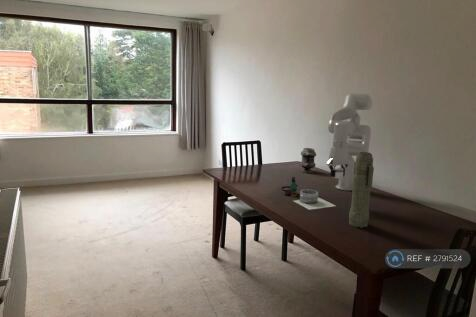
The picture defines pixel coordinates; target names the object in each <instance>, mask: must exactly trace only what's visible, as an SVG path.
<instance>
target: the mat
mask: <svg viewBox="0 0 476 317" xmlns="http://www.w3.org/2000/svg"><path fill="white" fill-rule="evenodd" d="M293 203H296V204H297V205H300V206H301V207H304V208H306V209H307V210H308V211H309V210H317V209H324V208H331V207H332V208H333V207H336V205H335V204H333V203H331V202H329V201H327V200H325V199H323V198H320V197H318V202H317V203H316V204H305V203H302V202H300V199H296V200H293Z"/></svg>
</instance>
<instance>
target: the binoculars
mask: <svg viewBox="0 0 476 317" xmlns="http://www.w3.org/2000/svg"><path fill="white" fill-rule="evenodd" d="M298 186H299V184H297V180H296V177H295V176H292V177H291V183H290V186H287V185H285V186H282V187H280V188H281V191H282V192H284V196H292V197H297V194H298V193H297V187H298Z"/></svg>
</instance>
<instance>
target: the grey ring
mask: <svg viewBox="0 0 476 317" xmlns="http://www.w3.org/2000/svg"><path fill="white" fill-rule="evenodd" d="M318 198H319V191H318V190H315V189H308V188H307V189H301V190H299V200H300V202H302V203H305V204H316V203H317V202H318Z"/></svg>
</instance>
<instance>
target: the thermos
mask: <svg viewBox="0 0 476 317" xmlns="http://www.w3.org/2000/svg"><path fill="white" fill-rule="evenodd" d="M373 157H374V156H373V154H372V153H371V152H369V151H368V152H360V153H358V155H357V156H355V163H354V174H353V180H352V194H351V205H350V209H349V212H348V214H349V215H348V218H349V219H348V225H349V226H351V225H352V226H351V227H353V226H354V228H357V227H360V228H359V229H364V228H363V227H366V228H368V226H369V225H368V224H369V219H370V210H369V208H370V198H371V191H372V188H373V180H374V179H373V178H374V169H375V168H374V158H373Z"/></svg>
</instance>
